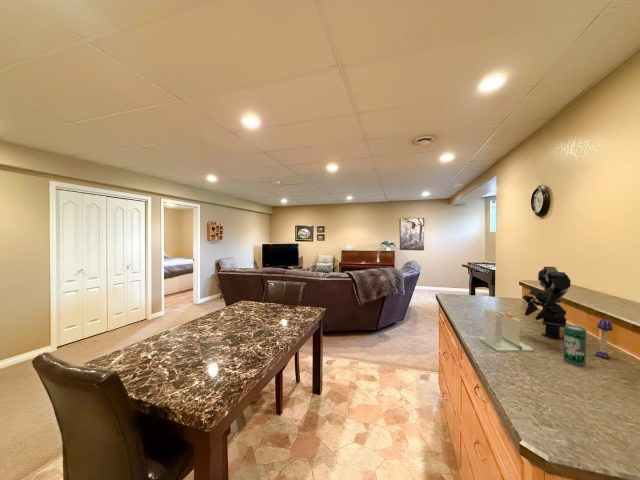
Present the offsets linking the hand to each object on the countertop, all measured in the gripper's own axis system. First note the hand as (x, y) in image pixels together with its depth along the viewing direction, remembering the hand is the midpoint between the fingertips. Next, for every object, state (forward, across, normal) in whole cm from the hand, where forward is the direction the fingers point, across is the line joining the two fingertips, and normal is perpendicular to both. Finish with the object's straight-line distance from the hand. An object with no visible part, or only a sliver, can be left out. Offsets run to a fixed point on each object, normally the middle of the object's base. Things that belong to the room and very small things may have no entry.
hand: (530, 317), depth 122 cm
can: (+7, +17, +13) cm, 22 cm away
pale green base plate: (+19, 0, 0) cm, 19 cm away
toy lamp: (-6, +13, +25) cm, 29 cm away
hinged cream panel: (+16, 0, +1) cm, 16 cm away
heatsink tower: (+22, 0, -4) cm, 22 cm away
